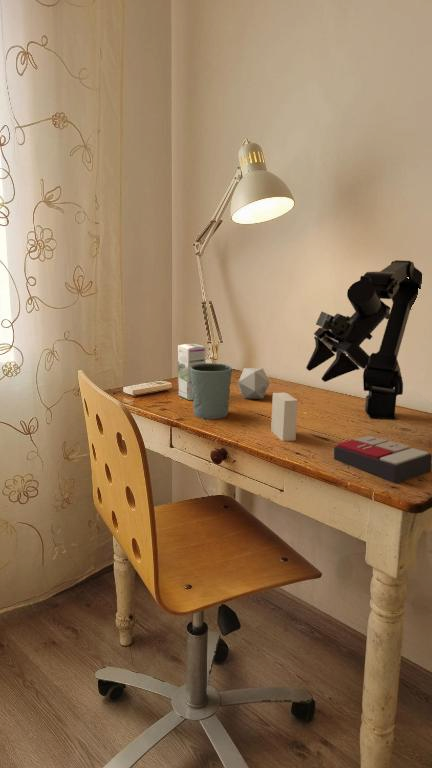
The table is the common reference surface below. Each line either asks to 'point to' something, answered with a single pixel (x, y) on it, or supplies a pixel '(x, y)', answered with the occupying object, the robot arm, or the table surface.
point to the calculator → (384, 458)
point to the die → (253, 383)
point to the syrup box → (188, 367)
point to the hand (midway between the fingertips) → (315, 374)
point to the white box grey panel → (284, 416)
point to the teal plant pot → (211, 389)
